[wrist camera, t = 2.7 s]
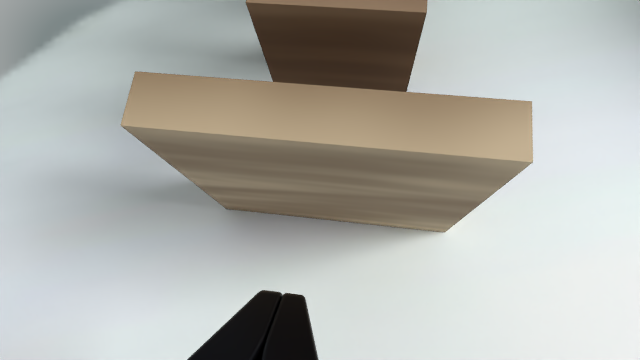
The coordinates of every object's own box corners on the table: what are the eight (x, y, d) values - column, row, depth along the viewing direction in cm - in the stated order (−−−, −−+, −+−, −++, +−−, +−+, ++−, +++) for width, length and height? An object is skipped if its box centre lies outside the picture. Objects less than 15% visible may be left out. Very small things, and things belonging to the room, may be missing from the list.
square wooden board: (444, 232, 20) (532, 162, 10) (226, 208, 21) (120, 125, 11) (446, 199, 20) (531, 101, 11) (232, 177, 21) (135, 71, 12)
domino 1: (392, 146, 21) (426, 12, 11) (292, 137, 22) (245, 2, 12) (394, 116, 21) (430, -37, 12) (296, 108, 22) (255, -44, 12)
